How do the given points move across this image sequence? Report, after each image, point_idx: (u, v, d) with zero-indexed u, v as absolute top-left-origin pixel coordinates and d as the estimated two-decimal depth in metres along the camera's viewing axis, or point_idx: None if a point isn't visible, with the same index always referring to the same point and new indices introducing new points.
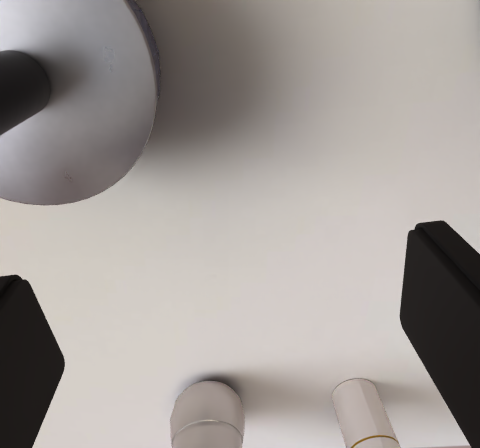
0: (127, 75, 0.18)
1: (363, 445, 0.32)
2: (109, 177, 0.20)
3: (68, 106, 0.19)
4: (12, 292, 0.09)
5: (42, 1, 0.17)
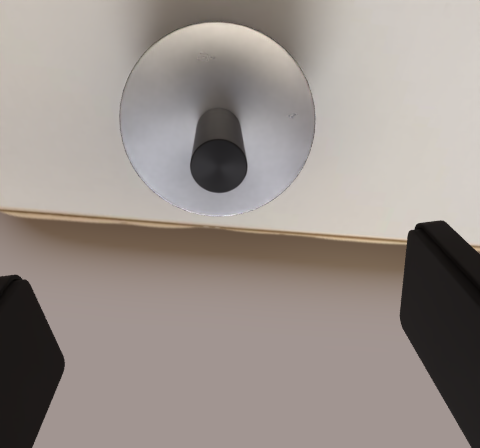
0: (219, 45, 0.23)
1: None
2: (299, 81, 0.24)
3: (237, 99, 0.24)
4: (12, 292, 0.09)
5: (166, 96, 0.24)
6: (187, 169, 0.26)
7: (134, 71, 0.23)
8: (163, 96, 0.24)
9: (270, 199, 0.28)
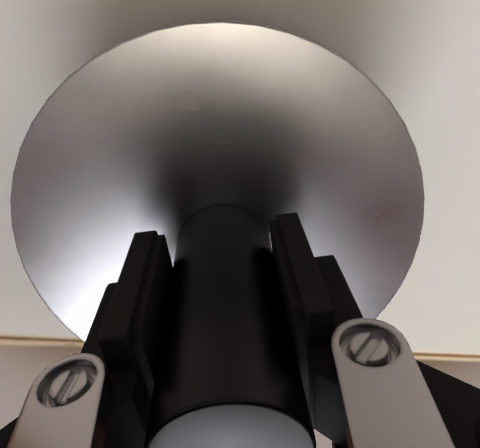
0: (224, 76, 0.10)
1: None
2: (398, 150, 0.11)
3: (264, 187, 0.11)
4: (159, 244, 0.10)
5: (110, 185, 0.11)
6: None
7: (32, 135, 0.10)
8: (103, 184, 0.11)
9: None
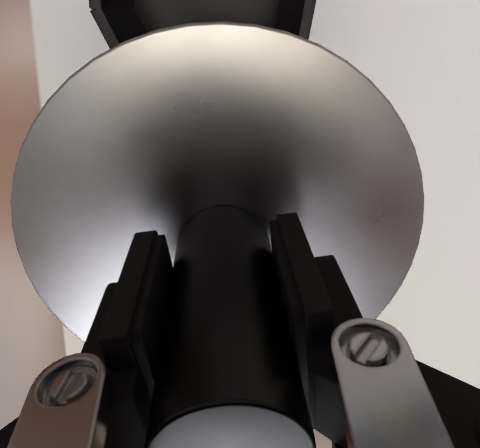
0: (224, 77, 0.10)
1: None
2: (398, 151, 0.11)
3: (264, 188, 0.11)
4: (159, 244, 0.10)
5: (110, 186, 0.11)
6: None
7: (32, 136, 0.10)
8: (103, 186, 0.11)
9: None
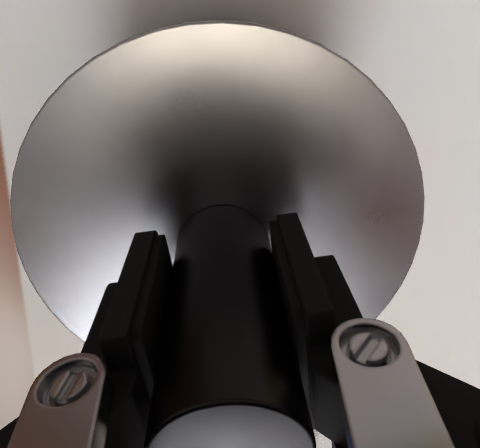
0: (224, 76, 0.10)
1: None
2: (398, 150, 0.11)
3: (264, 187, 0.11)
4: (159, 244, 0.10)
5: (109, 185, 0.11)
6: None
7: (32, 135, 0.10)
8: (102, 185, 0.11)
9: None
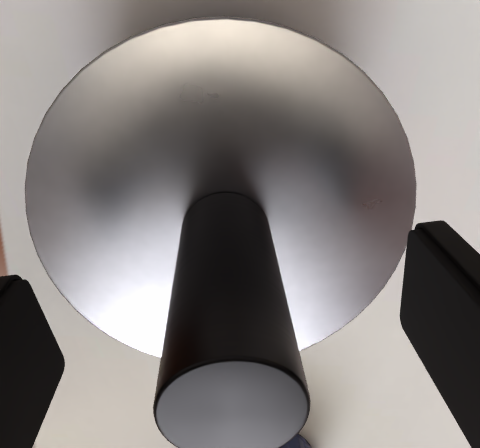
0: (226, 69, 0.10)
1: None
2: (391, 140, 0.12)
3: (264, 175, 0.12)
4: (12, 292, 0.09)
5: (118, 172, 0.12)
6: (166, 297, 0.14)
7: (46, 125, 0.11)
8: (112, 172, 0.12)
9: (318, 339, 0.15)
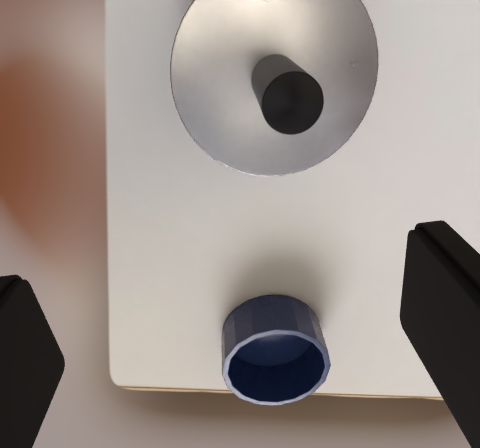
0: None
1: None
2: (364, 24, 0.22)
3: (297, 44, 0.23)
4: (12, 292, 0.09)
5: (222, 41, 0.22)
6: (239, 123, 0.25)
7: (189, 12, 0.22)
8: (218, 41, 0.22)
9: (324, 157, 0.26)
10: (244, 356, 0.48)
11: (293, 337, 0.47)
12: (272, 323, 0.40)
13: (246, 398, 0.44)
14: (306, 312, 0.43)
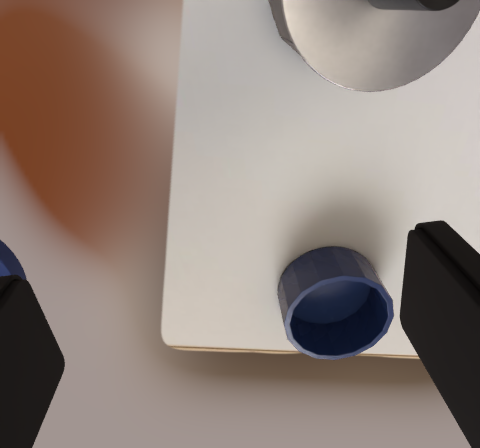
0: None
1: None
2: None
3: None
4: (12, 292, 0.09)
5: None
6: (345, 31, 0.24)
7: None
8: None
9: (427, 70, 0.25)
10: (298, 313, 0.47)
11: (349, 292, 0.46)
12: (337, 270, 0.39)
13: (305, 351, 0.43)
14: (367, 263, 0.43)
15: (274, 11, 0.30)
